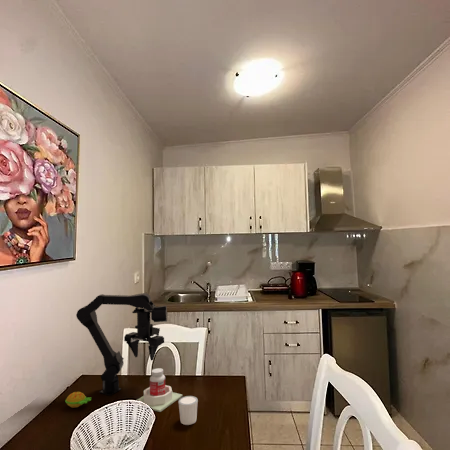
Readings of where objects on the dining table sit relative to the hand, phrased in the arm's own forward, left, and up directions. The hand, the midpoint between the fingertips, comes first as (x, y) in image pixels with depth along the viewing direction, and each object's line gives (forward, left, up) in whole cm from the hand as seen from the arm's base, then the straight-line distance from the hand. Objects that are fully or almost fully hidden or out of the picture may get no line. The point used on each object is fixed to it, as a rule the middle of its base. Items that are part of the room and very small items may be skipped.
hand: (144, 358), depth 139 cm
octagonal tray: (+12, -5, -13) cm, 18 cm away
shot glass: (+32, -12, -13) cm, 37 cm away
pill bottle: (+12, -5, -13) cm, 18 cm away
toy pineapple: (-13, -23, -13) cm, 30 cm away
